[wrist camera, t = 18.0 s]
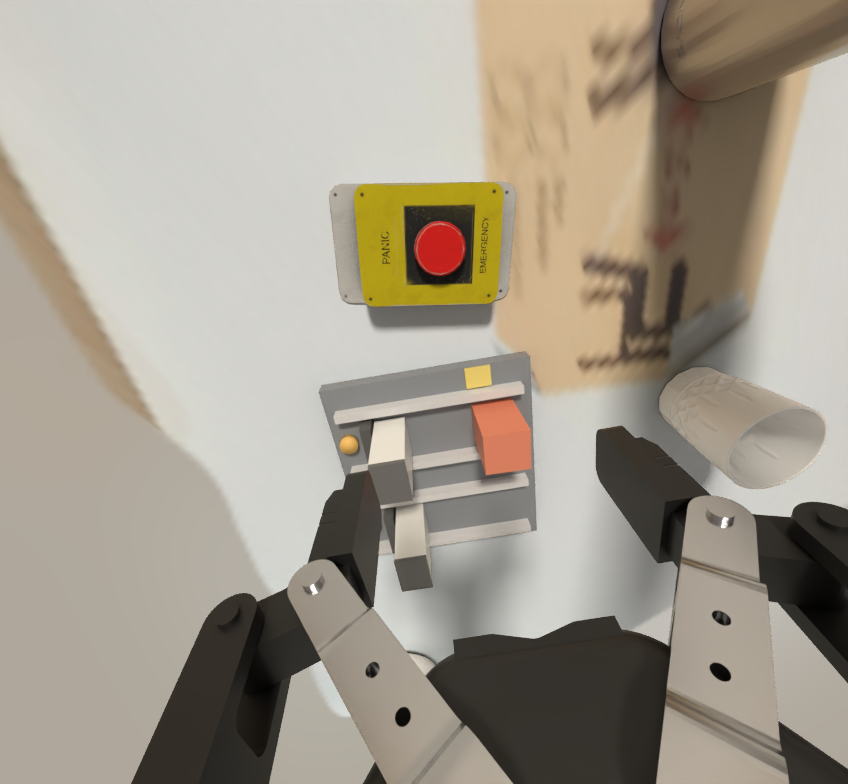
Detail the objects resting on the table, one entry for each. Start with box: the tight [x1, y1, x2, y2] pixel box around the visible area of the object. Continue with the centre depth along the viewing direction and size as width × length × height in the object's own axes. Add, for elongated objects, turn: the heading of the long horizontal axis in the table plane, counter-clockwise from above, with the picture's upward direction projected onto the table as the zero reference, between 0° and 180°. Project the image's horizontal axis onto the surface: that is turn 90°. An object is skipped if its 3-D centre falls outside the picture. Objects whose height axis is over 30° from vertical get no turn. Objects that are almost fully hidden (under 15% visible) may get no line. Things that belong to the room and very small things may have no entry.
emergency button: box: [329, 182, 516, 307], centre depth 30 cm, size 9×4×15 cm
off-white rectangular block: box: [368, 417, 413, 505], centre depth 34 cm, size 3×4×7 cm
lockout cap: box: [471, 398, 531, 475], centre depth 34 cm, size 4×4×6 cm
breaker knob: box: [394, 503, 433, 592], centre depth 38 cm, size 3×4×7 cm
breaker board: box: [319, 352, 537, 555], centre depth 39 cm, size 20×22×4 cm
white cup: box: [659, 367, 828, 489], centre depth 34 cm, size 8×8×10 cm
